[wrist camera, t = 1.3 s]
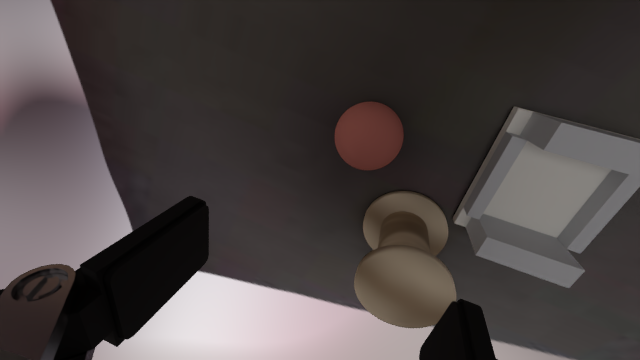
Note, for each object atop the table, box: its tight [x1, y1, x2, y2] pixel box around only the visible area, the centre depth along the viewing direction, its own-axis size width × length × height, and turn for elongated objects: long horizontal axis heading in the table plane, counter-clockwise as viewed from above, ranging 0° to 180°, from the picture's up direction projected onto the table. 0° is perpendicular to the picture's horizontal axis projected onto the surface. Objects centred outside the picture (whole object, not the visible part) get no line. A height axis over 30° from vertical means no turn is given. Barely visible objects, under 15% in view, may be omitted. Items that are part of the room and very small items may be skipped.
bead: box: [335, 101, 404, 170], centre depth 22 cm, size 6×6×6 cm
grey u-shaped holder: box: [453, 106, 640, 288], centre depth 20 cm, size 11×9×5 cm
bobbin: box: [354, 191, 456, 328], centre depth 23 cm, size 8×8×9 cm
